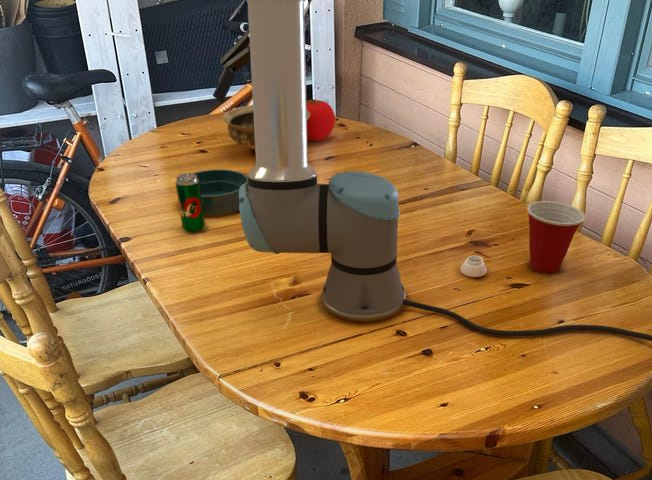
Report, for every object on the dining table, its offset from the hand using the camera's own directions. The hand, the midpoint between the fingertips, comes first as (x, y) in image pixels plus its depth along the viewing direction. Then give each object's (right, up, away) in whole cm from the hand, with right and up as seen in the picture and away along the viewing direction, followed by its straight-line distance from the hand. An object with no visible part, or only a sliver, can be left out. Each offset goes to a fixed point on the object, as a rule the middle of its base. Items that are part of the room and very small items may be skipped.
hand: (238, 106), depth 148 cm
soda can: (-11, -25, +8) cm, 28 cm away
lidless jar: (+48, -37, -11) cm, 61 cm away
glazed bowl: (-8, -16, +19) cm, 26 cm away
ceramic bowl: (+2, +5, +49) cm, 49 cm away
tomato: (+14, +15, +53) cm, 57 cm away
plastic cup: (+63, -35, -9) cm, 73 cm away
